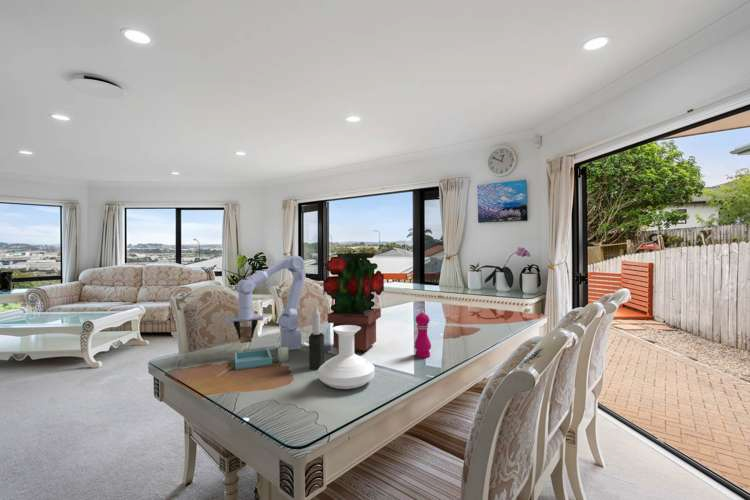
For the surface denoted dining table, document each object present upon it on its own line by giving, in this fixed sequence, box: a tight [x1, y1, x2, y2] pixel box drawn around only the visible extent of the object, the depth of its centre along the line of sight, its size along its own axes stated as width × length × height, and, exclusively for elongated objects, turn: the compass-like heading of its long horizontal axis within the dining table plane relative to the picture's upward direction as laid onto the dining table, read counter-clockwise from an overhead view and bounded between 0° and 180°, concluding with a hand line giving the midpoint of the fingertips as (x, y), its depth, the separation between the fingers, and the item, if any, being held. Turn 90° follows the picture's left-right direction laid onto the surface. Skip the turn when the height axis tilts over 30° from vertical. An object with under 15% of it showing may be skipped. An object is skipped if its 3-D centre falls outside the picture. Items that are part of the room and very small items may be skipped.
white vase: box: [317, 325, 376, 390], centre depth 124 cm, size 20×20×19 cm
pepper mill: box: [414, 309, 432, 359], centre depth 153 cm, size 7×7×20 cm
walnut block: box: [239, 325, 253, 344], centre depth 154 cm, size 4×4×6 cm
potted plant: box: [322, 252, 385, 354], centre depth 166 cm, size 22×22×45 cm
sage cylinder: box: [277, 347, 289, 363], centre depth 150 cm, size 4×4×5 cm
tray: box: [234, 348, 273, 371], centre depth 147 cm, size 14×14×3 cm
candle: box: [308, 304, 325, 371], centre depth 140 cm, size 5×5×25 cm
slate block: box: [264, 345, 276, 356], centre depth 158 cm, size 4×4×3 cm
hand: (245, 337), depth 154 cm, fingers closed on walnut block, 4 cm apart
